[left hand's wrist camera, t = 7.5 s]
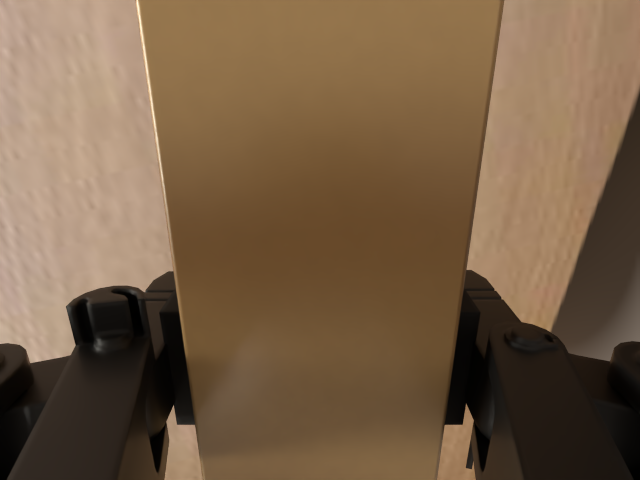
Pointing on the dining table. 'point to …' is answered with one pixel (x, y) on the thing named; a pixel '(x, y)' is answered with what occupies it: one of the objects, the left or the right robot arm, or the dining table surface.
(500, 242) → the dining table surface
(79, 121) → the dining table surface
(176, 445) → the dining table surface
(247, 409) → the bar
